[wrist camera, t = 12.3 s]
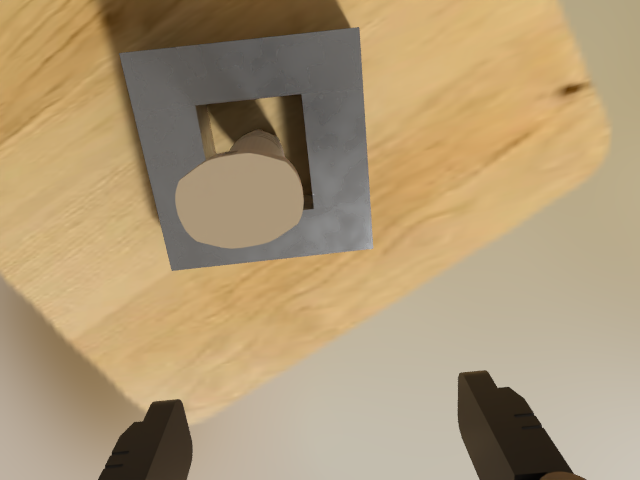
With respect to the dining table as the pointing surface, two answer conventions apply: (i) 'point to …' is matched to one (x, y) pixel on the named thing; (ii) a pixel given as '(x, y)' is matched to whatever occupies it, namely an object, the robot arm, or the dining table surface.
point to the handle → (241, 194)
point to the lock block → (253, 83)
